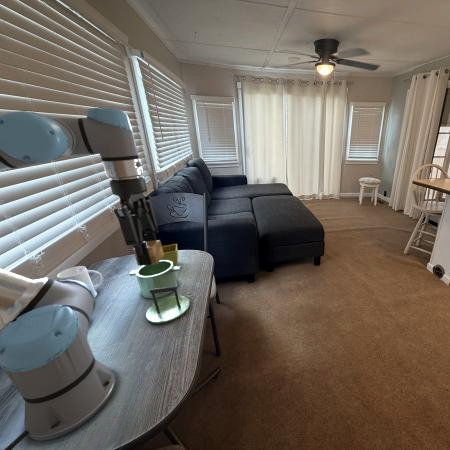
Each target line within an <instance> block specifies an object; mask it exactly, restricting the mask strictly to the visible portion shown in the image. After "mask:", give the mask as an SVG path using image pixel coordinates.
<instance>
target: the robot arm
mask: <svg viewBox="0 0 450 450" xmlns="http://www.w3.org/2000/svg"><path fill="white" fill-rule="evenodd" d="M134 135H135V134H134V131H133V128H132V125H131V121H130V118H129V116H128V114H127V112H126V111H124V110H123V109H120V108H115V107H114V108H113V107H90V108H87V109H86V117H79V118H68V117H67V118H63V117H51V116H45V115H42V114H40V113H37V112H31V111H27V110H26V111H25V110H23V111H22V110H21V111H10V112H6V113H3V114H1V115H0V173H1V172H6V171H9V170H14V169H18V168H23V167H27V166H31V165H36V164H39V163H40V164H41V163H48V162H50V161H54V160H57V159H60V158H62V157H63V158H64V157H66V156H80V155H95V154H96V155H97V154H98V155H99V156H100V159H101V162H102V165H103V170H104V172H105V175H106V178H108V179H109V181H108V184H109V188H110V190H111V193H112V195H114V196H117V197H118V198H119V205H120V206H119V208H114V209H113V213H114V214H115V216H116V217H117V220H118V224H119V226H120V229H121V232H122V237H123V239H124V242H125V245H126V246H127V247H130V246H133V249H135V251H136V255H137V258H138V261H139V264H140V265H139V267H142V266H144V265H151V264H152V263H151V260H150V256H149V253H148V249H147V245H146V242H143V241H155V240H158V239H157V236H156V234H158V233H159V226H158V222H157V218H156V215H155V211H154V208H153V203H152V196H151V195H149V194H148V195H145V193H146V192H147V191H148V189H149V188H148V185H147V181H146V178H145V176H143V174H144V171H143V170H144V169H143V163H142V162H141V159H140V156H139V151H138V147H137V144H136V143H137V142H136V139H135V136H134ZM142 231H143V232H144V234H143V232H142ZM143 237H144V239H143ZM95 309H96V297H95V295H94V292H93V290H92V289H91V288H90V287H89V286H88V285H87V284H85V283H83V282H81V281H77V280H63V281H61V280H60V281H58V280H55V279H53V278H50V277H46V276H45V277H41V278H36V279H31V278H29V277H26V276H24V275H20V274H17V273H14V272H12V271H9V270H6V269H3V268H0V320H1V322H2V326H4V327H3V328H2V330H0V368H2V369H3V371H4V372H5V374H6V375H7V377H8V378H9V380H10V381H11V383H12V384H13V385H14V387H15V388H16V391H17V392H18V393H19V395H20V396H21V398H22V399H23V400H24V420H23V424H24V429H25V430H24V431H23V432H22V433H21V434H20V435H19V436H17V438H15V439H14V440H13V441H12V442H11V443H10V444H8V445H7V446H6V447H5V448H4V449H3V450H13V449H14V448H15V447H16V446H17V445H19V444H20V443H21V442H22V441H23V440H24V439H25V438H26V437H27V436H29V437H30V438H31V439H33V440H34V441H40V442H41V441H42V442H43V441H51V440H54V439H58V438H61V437H64V436H66V435H68V434H70V433H72V432H74V431H75V430H77V429H78V428H80V427H81V426H83V425H84V424H86V423H88V422H89V421H90V420H91V419H92V418H94V417H95V416H96V415H97V414H98V413H99V412H100V411H101V410H102V409H103V408H104V407H105V405H106V404H107V403H108V402H109V400H110V398H111V397H112V396H113V393H114V390H115V388H116V376H115V374H114V373H113V371H112V370H111V369H110V368H109V367H107V366H106V364H105V365H104V364H103V363H101V361H99V360H98V359H96V358H95V356H94V353H93V351H92V349H91V346H90V344H89V342H88V332H89V329H90V324H91V322H92V317H93V313H94V311H95Z"/></svg>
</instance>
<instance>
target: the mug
mask: <svg viewBox="0 0 450 450" xmlns="http://www.w3.org/2000/svg"><path fill="white" fill-rule="evenodd" d="M91 273H95V274H98V275H99V277H100V281H99V282H98V283H97V284H95V285H93V282H92V280H91V279H92V278H91V277H90V274H91ZM56 278H57V281H60V280H61V281H63V280H77V281H81V282H83V283H85V284H87V285H88V286H89V287H90V288H91V289H92V290H93V292H94V295H95V298H96V297H97V296H98V292H97V291H96V290H95V289H97V288H99V287H100V286H101V285H102V283H103V281H104V279H103V278H104V276H103V275H102V273H101V272H99V271H97V270H93V269H87V267H86V266H84V265H78V266H73V267H69V268H66V269H63V270H62V271H60V272H59V273H57V274H56Z"/></svg>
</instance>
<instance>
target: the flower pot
mask: <svg viewBox="0 0 450 450" xmlns="http://www.w3.org/2000/svg"><path fill="white" fill-rule="evenodd" d="M162 249H163V252H164V256H163V257H162V259H161V260H168V261H171V262H173V266H178V261H179V260H178V259H179V251H178V243H173V244H168V245H162Z"/></svg>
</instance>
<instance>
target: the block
mask: <svg viewBox="0 0 450 450" xmlns="http://www.w3.org/2000/svg"><path fill="white" fill-rule="evenodd" d="M143 242H146V245H147V249H148V253H149V256H150V260H151V263H152V264H157V263H158V262H159V261H160V260H161V259H162V257H163V256H164V252H163V249H162V246H163V245H162V242H161V239H157V240H155V241H145V240H143ZM132 252H133V255H134V257H135V261H136V264H137V266H139V267H140V264H139V261H138V258H137V255H136V251H135V249H134V248H132Z"/></svg>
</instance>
